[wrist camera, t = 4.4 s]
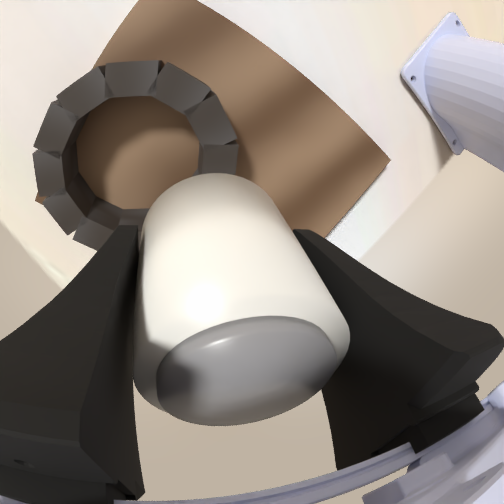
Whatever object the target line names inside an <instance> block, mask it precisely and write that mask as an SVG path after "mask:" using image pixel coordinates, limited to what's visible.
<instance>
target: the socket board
mask: <svg viewBox="0 0 504 504" xmlns="http://www.w3.org/2000/svg"><path fill="white" fill-rule="evenodd" d="M56 97H57V98H58V100H56V101H54V102H51V104H50V107H49V109H48V111H47V113H46V116H45V118H44V121H43V123H42V125H41V128H40V130H39V133H38V136H37V138H36V141H35V143H34V146H33V147H35V148H37V149H38V150H36V151H35V152H34V153H33V161H34V168H35V175H36V182H37V188H38V193H37V196H36V199H35V201H36V202H38V203H40V204H42V205H44V207H45V208H46V209H47V210H48V212H49V213H50V214H51V216H52V217H53V218H54V219H55V221H56V222H57V223H58V224H59V226H60V227H61V228H62V229H63V231H64V232H65V233H66V234H67V235H69V234H71V233H72V232H73V231H75V230H76V229H77V230H76V232H75V235H74V237H73V240H75V241H77V242H79V243H81V244H84V245H86V246H88V247H90V248H93V249H95V250H97V251H98V250H99V249H100V248H101V246H102V245H103V244H104V243H105V241H106V240H107V239H108V238H109V236H110V235H111V234H112V233H113V231H114V230H115V229H116V228H117V227H118V226H119V225H138V240H139V251H140V242H141V234H142V227H143V223H144V220H145V217H146V215H147V213H148V211H149V209H150V208H151V206H152V204H153V203H154V202H155V201H156V200H157V198H158V197H159V196H160V195H161V194H163V193H164V192H165V191H166V190H167V189H169V188H170V187H172V186H173V185H174V184H176V183H178V182H180V181H182V180H184V179H187V178H190V177H193V176H197V175H201V174H209V173H225V174H231V175H236V176H239V177H243V178H245V179H247V180H249V181H252V182H253V183H255V184H256V185H258V186H259V187H261V188H262V189H263V190H264V191H265V192H266V193H267V194H268V195H269V196H270V198H271V199H272V200H273V202H274V203H275V205H276V207H277V208H278V210H279V211H280V213H281V214H282V216H283V218H284V219H285V221H286V222H287V224H288V225H289V227H290V229H291V230H292V232H293V229H309V230H311V231H313V232H315V233H317V234H319V235H320V236H322V237H323V238H325V237H326V235H327V234H328V233H329V232H330V231H331V230H332V229H333V228H334V226H335V225H336V224H337V223H338V222H339V221H340V220H341V218H342V217H343V216H344V215H345V214H346V213H347V211H348V210H349V209H350V208H351V207H352V206H353V205H354V203H355V202H356V201H357V200H358V199H359V198H360V196H361V195H362V194H363V193H364V192H365V190H366V189H367V188H368V187H369V186H370V185H371V183H372V182H373V181H374V180H375V179H376V177H377V176H378V175H379V174H380V173H381V171H382V170H383V169H384V168H385V167H386V165H387V164H388V163H389V162H390V161H391V160H390V158H389V157H388V156H387V155H386V154H385V153H384V152H383V151H382V150H381V148H380V147H379V146H378V145H377V144H376V143H375V142H374V141H373V140H372V139H371V138H370V137H369V136H368V135H367V134H366V133H365V132H364V131H363V130H362V128H361V127H360V126H359V125H358V124H357V123H356V122H355V121H354V120H353V119H351V118H350V117H349V116H348V115H347V114H346V113H345V112H344V111H343V110H342V109H341V108H340V107H339V106H338V105H337V104H336V103H335V102H334V101H333V100H331V99H330V98H329V97H328V96H327V95H326V94H325V93H324V92H323V91H322V90H320V89H319V88H318V87H317V86H316V85H315V84H314V83H312V82H311V81H310V80H309V79H308V78H307V77H305V76H304V75H303V74H302V73H301V72H299V71H298V70H297V69H296V68H294V67H293V66H292V65H291V64H289V63H288V62H287V61H286V60H284V59H283V58H282V57H281V56H279V55H278V54H277V53H275V52H274V51H273V50H271V49H270V48H269V47H267V46H266V45H265V44H263V43H262V42H260V41H259V40H258V39H256V38H255V37H253V36H252V35H251V34H249V33H248V32H246V31H245V30H243V29H242V28H240V27H239V26H237V25H236V24H234V23H233V22H231V21H230V20H228V19H227V18H225V17H224V16H222V15H220V14H219V13H217V12H216V11H214V10H212V9H211V8H209V7H207V6H206V5H204V4H202V3H200V2H199V1H197V0H139V1H138V2H137V3H136V4H135V6H134V7H133V8H132V10H131V11H130V12H129V14H128V15H127V16H126V18H125V19H124V21H123V22H122V23H121V25H120V26H119V28H118V29H117V31H116V32H115V33H114V35H113V36H112V38H111V39H110V41H109V43H108V44H107V46H106V47H105V49H104V50H103V52H102V54H101V55H100V57H99V58H98V60H97V62H96V63H95V65H94V67H93V69H92V70H91V71H90V72H88V73H87V74H85V75H84V76H83V77H81V78H80V79H78V80H77V81H76V82H74V83H73V84H72V85H70V86H69V87H68V88H66V89H65V90H64V91H62V92H61V93H60V94H58V95H57V96H56Z"/></svg>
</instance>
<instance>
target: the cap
mask: <svg viewBox="0 0 504 504" xmlns="http://www.w3.org/2000/svg"><path fill="white" fill-rule="evenodd" d="M349 343H350V331H349V326H348V324H347V322H346V320H345V318H344V317H343V315H342V313H341V312H340V310H339V308H338V306H337V305H336V303H335V301H334V300H333V298H332V296H331V294H330V293H329V291H328V289H327V288H326V286H325V284H324V283H323V281H322V279H321V278H320V276H319V274H318V273H317V271H316V269H315V268H314V266H313V264H312V263H311V261H310V259H309V258H308V256H307V254H306V253H305V251H304V250H303V248H302V246H301V245H300V243H299V241H298V240H297V238H296V237H295V235H294V233H293V232H292V230H291V229H290V227H289V225H288V224H287V222H286V221H285V219H284V218H283V216H282V214H281V213H280V211H279V210H278V208H277V207H276V205H275V203H274V202H273V200H272V199H271V198H270V196H269V195H268V194H267V193H266V192H265V191H264V190H263V189H262V188H261V187H259V186H258V185H256V184H255V183H253V182H252V181H249V180H247V179H245V178H243V177H239V176H236V175H231V174H225V173H209V174H201V175H197V176H193V177H190V178H187V179H184V180H182V181H180V182H178V183H176V184H174V185H173V186H172V187H170V188H169V189H167V190H166V191H165V192H164V193H163V194H161V195H160V196H159V197H158V198H157V200H156V201H155V202H154V203H153V204H152V206H151V208H150V209H149V211H148V213H147V215H146V217H145V220H144V223H143V227H142V234H141V242H140V251H139V260H138V271H137V282H136V295H135V311H134V331H133V380H134V383H135V386H136V388H137V390H138V392H139V393H140V394H141V395H142V397H143V398H144V399H145V400H147V401H148V402H149V403H150V404H152V405H153V406H155V407H157V408H158V409H160V410H163V411H165V412H167V413H169V414H171V415H172V416H174V417H176V418H178V419H181V420H183V421H186V422H190V423H194V424H199V425H208V426H231V425H240V424H247V423H252V422H257V421H260V420H264V419H268V418H271V417H273V416H276V415H279V414H282V413H284V412H286V411H288V410H291V409H293V408H295V407H296V406H298V405H300V404H302V403H303V402H305V401H307V400H308V399H309V398H311V397H312V396H314V395H315V394H316V393H317V392H318V391H320V390H321V389H322V388H323V387H324V386H325V385H326V383H327V382H328V381H329V380H330V378H331V377H332V375H333V373H334V372H335V370H336V369H337V368H338V366H339V365H340V364H341V362H342V361H343V359H344V357H345V355H346V353H347V350H348V347H349Z"/></svg>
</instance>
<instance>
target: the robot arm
mask: <svg viewBox="0 0 504 504" xmlns="http://www.w3.org/2000/svg"><path fill="white" fill-rule="evenodd" d="M401 76H402V78H403V79H404V80H405V82H406V83H407V84H408V86H409V87H410V88H411V89H412V91H413V92H414V94H415V95H416V96H417V98H418V99H419V100H420V102H421V103H422V105H423V106H424V108H425V109H426V110H427V112H428V113H429V115H430V116H431V118H432V119H433V121H434V122H435V124H436V125H437V127H438V129H439V130H440V132H441V133H442V135H443V136H444V138H445V140H446V141H447V143H448V145H449V146H450V148H451V150H452V152H453V153H454V154H456V155H460V153H461V152H462V151H463V150H464V149H466V150H468V151H470V152H472V153H473V154H475V155H477V156H478V157H480V158H482V159H484V160H485V161H487V162H488V163H490V164H492V165H493V166H495V167H497V168H498V169H500V170H501V171H503V172H504V44H503V43H499V42H494V41H490V40H485V39H480V38H474V37H470V36H469V34H468V33H467V31H466V29H465V28H464V26H463V24H462V23H461V21H460V20H459V18H458V16H457V15H456V14H455V13H454V12H449V13H447V15H446V16H445V17H444V18H443V19H442V21H441V22H440V23H439V24H438V25H437V27H436V28H435V29H434V30H433V32H432V33H431V34H430V35H429V36H428V38H427V39H426V40H425V41H424V42H423V44H422V45H421V46H420V47H419V48H418V50H417V51H416V52H415V53H414V54H413V56H412V57H411V58H410V59H409V61H408V62H407V63H406V64H405V65H404V67H403V68H402V70H401ZM411 76H412V77H413V80H412V81H411ZM293 233H294V235H295V237H296V238H297V240H298V241H299V243H300V245H301V246H302V248H303V250H304V251H305V253H306V254H307V256H308V258H309V259H310V261H311V263H312V264H313V266H314V268H315V269H316V271H317V273H318V274H319V276H320V278H321V279H322V281H323V283H324V284H325V286H326V288H327V289H328V291H329V293H330V294H331V296H332V298H333V300H334V301H335V303H336V305H337V306H338V308H339V310H340V312H341V313H342V315H343V317H344V318H345V320H346V322H347V324H348V326H349V331H350V343H349V347H348V350H347V353H346V355H345V357H344V359H343V361H342V362H341V364H340V365H339V366H338V368H337V369H336V370H335V372H334V373H333V375H332V377H331V378H330V380H329V381H328V382H327V383H326V385H325V386H324V387H323V388H322V389H321V390H322V394H323V398H324V401H325V406H326V410H327V415H328V419H329V424H330V429H331V434H332V441H333V447H334V454H335V462H336V468H337V470H338V471H335V472H332V473H329V474H326V475H322V476H319V477H316V478H312V479H309V480H305V481H301V482H297V483H293V484H289V485H285V486H281V487H276V488H272V489H267V490H262V491H256V492H251V493H245V494H238V495H231V496H224V497H216V498H206V499H194V500H180V501H179V500H178V501H137V500H138V499H139V498H140V497H141V496H142V495H143V494H144V493H145V489H144V484H143V478H142V472H141V465H140V460H139V451H138V443H137V435H136V425H135V412H134V395H133V331H134V311H135V295H136V282H137V271H138V260H139V240H138V225H119V226H118V227H117V228H116V229H115V230H114V231H113V233H112V234H111V235H110V236H109V238H108V239H107V240H106V241H105V243H104V244H103V245H102V246H101V248H100V249H99V250H98V251H97V253H96V254H95V255H94V256H93V257H92V258H91V260H90V261H89V262H88V263H87V264H86V266H85V267H84V268H83V269H82V270H81V271H80V272H79V273H78V274H77V275H76V277H75V278H74V279H73V280H72V281H71V282H70V283H69V284H68V285H67V286H66V287H65V288H64V289H63V290H62V291H61V292H60V293H59V294H58V295H57V296H56V297H55V298H54V299H53V300H52V301H50V303H48V304H47V305H46V306H45V307H43V308H42V309H41V310H40V311H38V312H37V313H36V314H35V315H34V316H32V317H31V318H30V319H29V320H28V321H26V322H25V323H24V324H23V325H21V326H20V327H19V328H17V329H16V330H15V331H13V332H12V333H11V334H9V335H8V336H6V337H5V338H4V339H2V340H1V341H0V504H314V503H318V502H321V501H324V500H327V499H330V498H333V497H336V496H338V495H342V494H344V493H347V492H350V491H352V490H355V489H357V488H360V487H362V486H365V485H367V484H370V483H372V482H374V481H377V480H379V479H381V478H383V477H386V476H388V475H390V474H392V473H394V472H396V471H398V470H400V469H402V468H404V467H406V466H408V465H409V466H408V469H407V473H406V474H405V475H403V476H401V477H399V478H397V479H395V480H394V481H392V482H390V483H388V484H386V485H384V486H382V487H380V488H378V489H376V490H374V491H371V492H369V493H367V494H365V495H363V497H362V499H363V502H364V504H504V381H503V382H501V383H500V384H499V385H498V386H497V387H496V388H495V389H494V390H492V392H490V394H488V396H487V397H486V398H485V399H483V400H481V401H479V399H478V398H477V396H476V394H475V393H476V392H477V391H478V390H479V386H478V385H477V383H476V380H477V379H478V378H479V377H480V376H481V375H482V374H483V372H484V371H485V370H486V369H487V368H488V367H489V366H490V365H491V364H492V363H493V362H494V360H495V359H496V358H497V357H498V355H499V354H500V352H501V351H502V350H503V347H504V338H503V337H502V335H501V334H500V333H499V331H498V330H497V329H496V328H495V327H494V326H492V325H491V324H488V323H484V322H481V321H477V320H474V319H471V318H467V317H464V316H461V315H459V314H456V313H453V312H451V311H448V310H445V309H443V308H440V307H438V306H435V305H433V304H431V303H429V302H427V301H425V300H423V299H420V298H418V297H416V296H414V295H413V294H410V293H409V292H407V291H405V290H403V289H401V288H400V287H398V286H396V285H394V284H392V283H391V282H389V281H387V280H386V279H384V278H382V277H381V276H379V275H378V274H376V273H375V272H373V271H371V270H370V269H368V268H367V267H365V266H364V265H362V264H361V263H360V262H358V261H357V260H355V259H354V258H352V257H351V256H349V255H348V254H347V253H345V252H344V251H342V250H341V249H339V248H338V247H337V246H335V245H334V244H332V243H331V242H329V241H328V240H326V239H325V238H323V237H322V236H320V235H319V234H317V233H315V232H313V231H311V230H309V229H293ZM126 500H135V501H126Z"/></svg>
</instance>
